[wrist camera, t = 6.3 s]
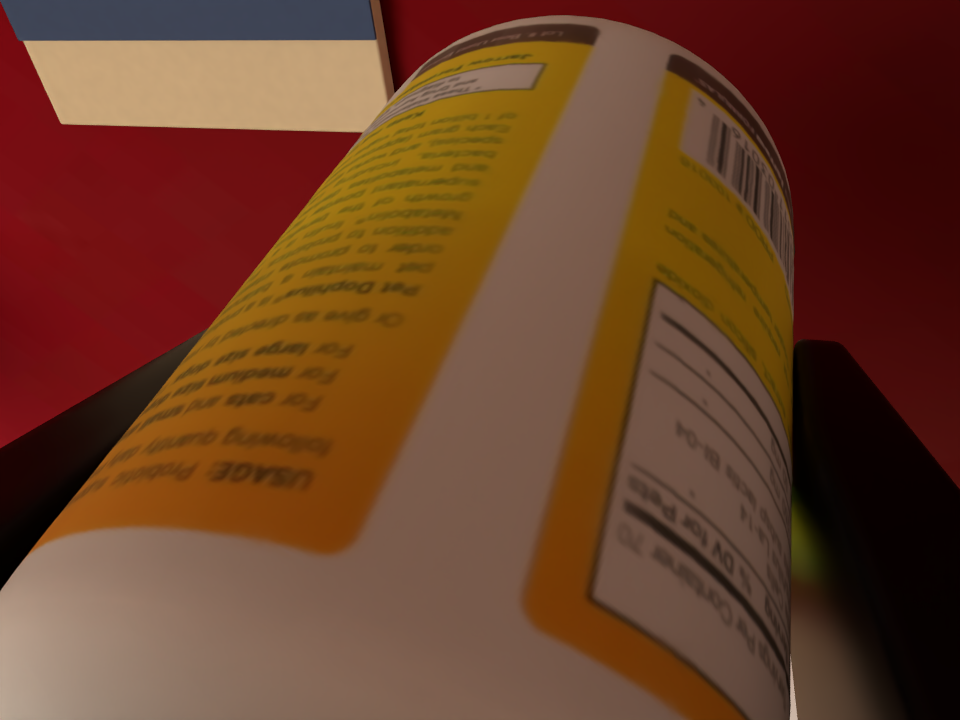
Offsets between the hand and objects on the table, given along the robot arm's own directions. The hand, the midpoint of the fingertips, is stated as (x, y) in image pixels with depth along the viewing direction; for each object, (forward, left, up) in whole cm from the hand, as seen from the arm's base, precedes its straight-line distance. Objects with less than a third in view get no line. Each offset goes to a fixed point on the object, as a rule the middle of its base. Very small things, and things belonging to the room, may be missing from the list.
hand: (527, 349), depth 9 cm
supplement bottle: (0, 0, -3) cm, 3 cm away
